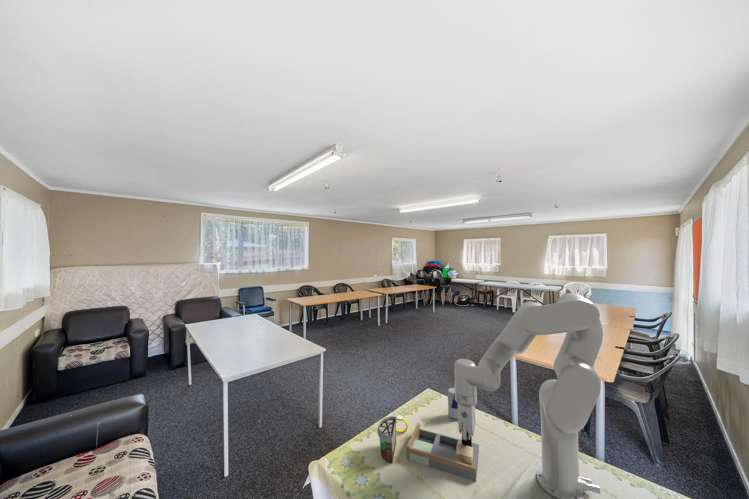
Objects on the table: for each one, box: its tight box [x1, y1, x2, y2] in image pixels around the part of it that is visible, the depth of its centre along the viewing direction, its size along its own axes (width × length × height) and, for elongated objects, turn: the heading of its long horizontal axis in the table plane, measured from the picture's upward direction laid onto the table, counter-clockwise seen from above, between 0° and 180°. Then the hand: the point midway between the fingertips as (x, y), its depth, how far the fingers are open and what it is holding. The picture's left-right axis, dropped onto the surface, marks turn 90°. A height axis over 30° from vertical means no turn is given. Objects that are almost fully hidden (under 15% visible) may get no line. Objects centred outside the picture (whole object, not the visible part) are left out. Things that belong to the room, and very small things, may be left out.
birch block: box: [456, 443, 473, 466], centre depth 90 cm, size 5×5×3 cm
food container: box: [376, 416, 397, 464], centre depth 97 cm, size 12×6×10 cm, turn 168°
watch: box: [395, 414, 409, 434], centre depth 109 cm, size 6×3×6 cm, turn 75°
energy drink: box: [447, 387, 458, 422], centre depth 117 cm, size 5×5×12 cm
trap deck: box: [406, 422, 480, 482], centre depth 95 cm, size 23×14×4 cm, turn 65°
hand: (466, 447), depth 94 cm, fingers closed
